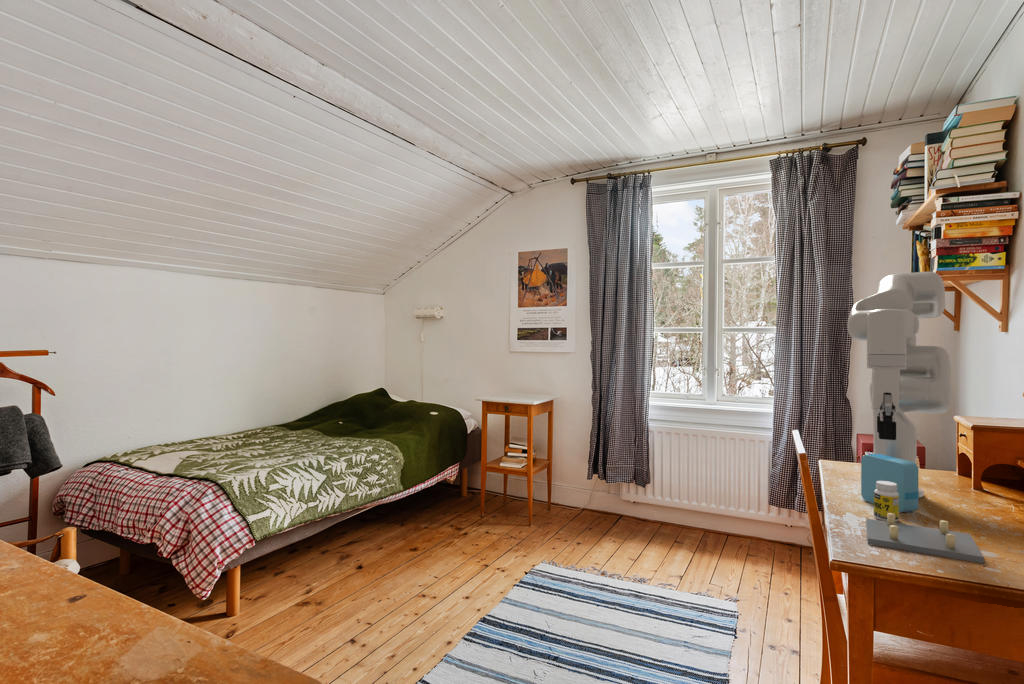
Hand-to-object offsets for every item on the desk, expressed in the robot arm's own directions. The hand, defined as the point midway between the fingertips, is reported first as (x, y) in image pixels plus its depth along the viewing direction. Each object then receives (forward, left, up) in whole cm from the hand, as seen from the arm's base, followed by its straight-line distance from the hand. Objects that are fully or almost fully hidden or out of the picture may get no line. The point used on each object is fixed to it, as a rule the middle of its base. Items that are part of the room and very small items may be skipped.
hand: (886, 436), depth 124 cm
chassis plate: (+13, +5, -19) cm, 24 cm away
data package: (-12, +1, -20) cm, 23 cm away
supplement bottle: (0, 0, -20) cm, 20 cm away
